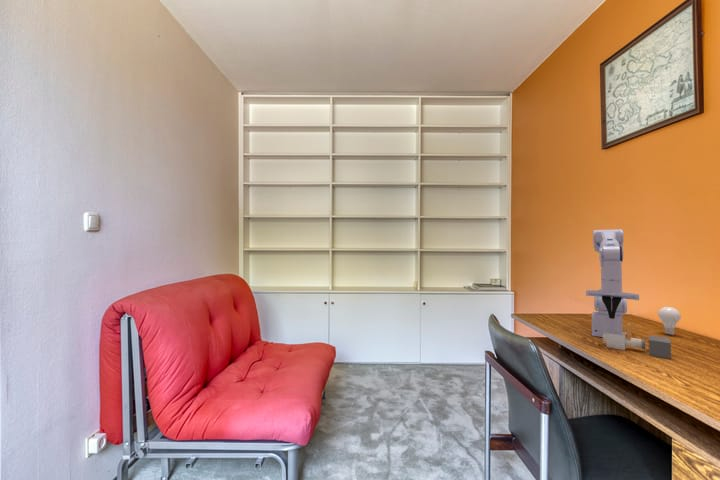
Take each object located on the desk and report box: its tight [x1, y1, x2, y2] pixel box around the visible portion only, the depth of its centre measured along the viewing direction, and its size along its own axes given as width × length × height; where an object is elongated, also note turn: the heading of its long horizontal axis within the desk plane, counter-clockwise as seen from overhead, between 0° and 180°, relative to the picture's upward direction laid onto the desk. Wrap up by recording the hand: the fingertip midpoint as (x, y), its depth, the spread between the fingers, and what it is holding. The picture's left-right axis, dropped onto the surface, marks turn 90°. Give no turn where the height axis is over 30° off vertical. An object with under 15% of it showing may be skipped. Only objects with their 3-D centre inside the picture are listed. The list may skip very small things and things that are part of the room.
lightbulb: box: [657, 306, 682, 336], centre depth 122 cm, size 6×6×11 cm
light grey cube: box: [605, 330, 627, 351], centre depth 109 cm, size 5×5×5 cm
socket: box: [648, 334, 672, 360], centre depth 101 cm, size 5×7×5 cm
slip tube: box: [602, 323, 646, 350], centre depth 107 cm, size 11×3×8 cm, turn 47°
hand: (612, 318), depth 109 cm, fingers closed
